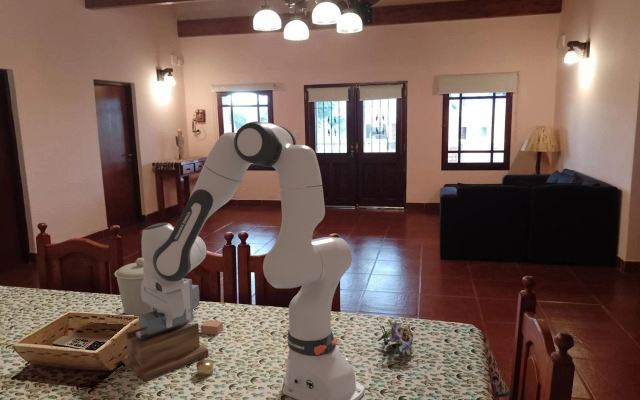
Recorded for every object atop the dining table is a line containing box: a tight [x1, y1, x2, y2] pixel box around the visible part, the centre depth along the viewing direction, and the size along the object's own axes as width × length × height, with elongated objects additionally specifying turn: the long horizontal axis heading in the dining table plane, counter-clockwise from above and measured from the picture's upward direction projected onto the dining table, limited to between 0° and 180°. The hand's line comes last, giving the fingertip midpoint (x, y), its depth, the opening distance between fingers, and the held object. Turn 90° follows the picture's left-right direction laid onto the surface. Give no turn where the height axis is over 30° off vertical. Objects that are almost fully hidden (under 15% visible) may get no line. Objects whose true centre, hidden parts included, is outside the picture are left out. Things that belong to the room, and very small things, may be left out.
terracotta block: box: [200, 320, 224, 336], centre depth 161 cm, size 6×4×3 cm, turn 77°
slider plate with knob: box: [136, 308, 191, 338], centre depth 141 cm, size 16×6×6 cm, turn 135°
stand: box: [122, 322, 209, 382], centre depth 142 cm, size 16×20×10 cm
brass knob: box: [196, 359, 214, 378], centre depth 134 cm, size 4×4×3 cm
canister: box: [114, 257, 152, 316], centre depth 175 cm, size 18×18×21 cm
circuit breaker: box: [182, 277, 200, 324], centre depth 170 cm, size 8×14×15 cm, turn 164°
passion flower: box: [377, 319, 414, 357], centre depth 146 cm, size 11×11×12 cm
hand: (163, 323), depth 141 cm, fingers closed on slider plate with knob, 5 cm apart
